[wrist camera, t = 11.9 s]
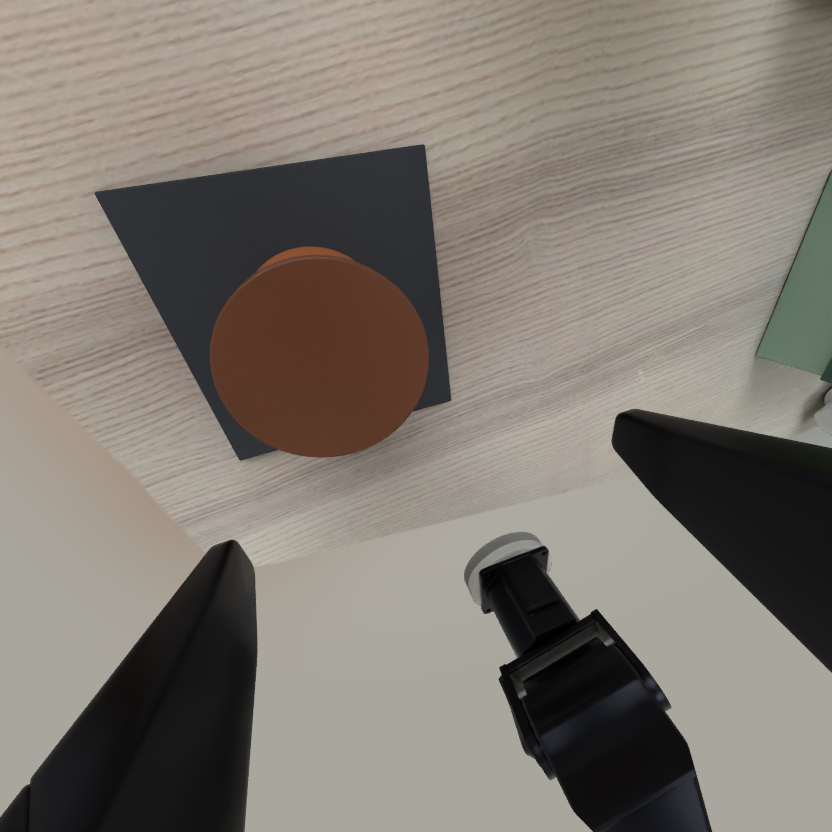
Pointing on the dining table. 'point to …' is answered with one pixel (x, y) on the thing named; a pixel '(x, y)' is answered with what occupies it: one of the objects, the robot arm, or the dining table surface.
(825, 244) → the storage box
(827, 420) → the supplement bottle
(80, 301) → the dining table surface
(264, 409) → the round tub
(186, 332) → the mat
